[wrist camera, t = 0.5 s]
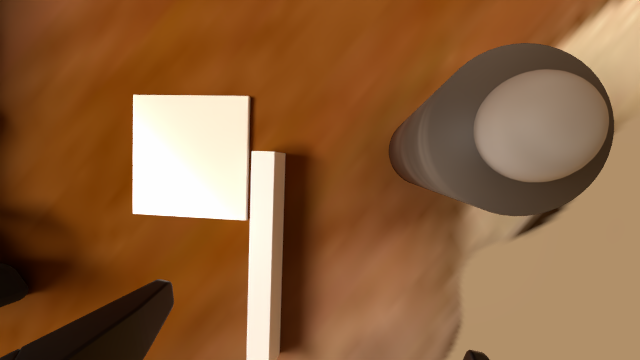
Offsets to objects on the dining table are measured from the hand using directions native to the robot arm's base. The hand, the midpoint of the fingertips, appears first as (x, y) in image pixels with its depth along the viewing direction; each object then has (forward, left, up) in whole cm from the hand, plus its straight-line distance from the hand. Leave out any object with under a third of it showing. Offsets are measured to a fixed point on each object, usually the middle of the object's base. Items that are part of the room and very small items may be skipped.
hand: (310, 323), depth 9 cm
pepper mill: (+6, -6, -13) cm, 16 cm away
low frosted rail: (-2, +5, -13) cm, 14 cm away
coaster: (+5, +11, -13) cm, 18 cm away
